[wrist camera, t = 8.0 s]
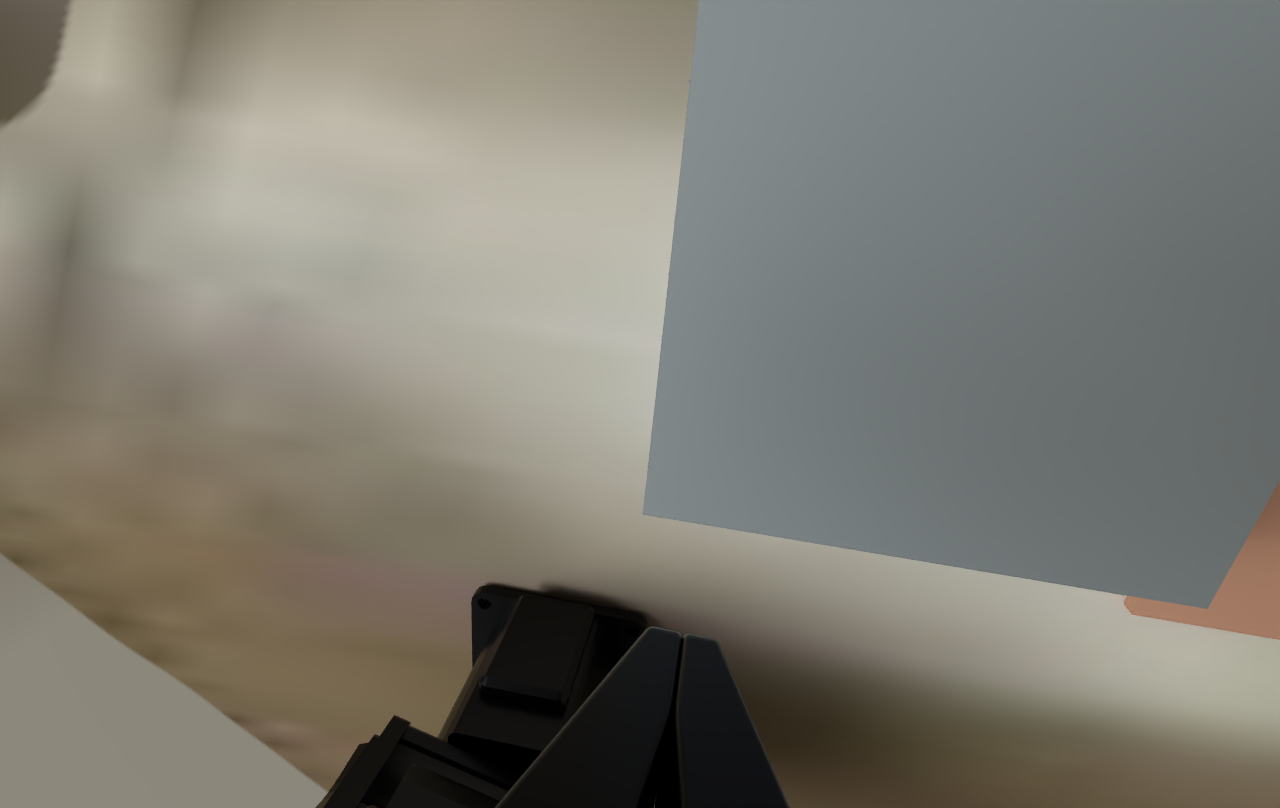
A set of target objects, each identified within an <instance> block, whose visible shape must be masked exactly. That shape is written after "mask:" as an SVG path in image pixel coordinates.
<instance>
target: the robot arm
mask: <svg viewBox="0 0 1280 808" xmlns="http://www.w3.org/2000/svg"><path fill="white" fill-rule="evenodd" d="M483 598H485V599H488V600H489V601H490V602H487V601H485V600H484V599H483ZM471 607H472V663H473V669H472V671H471V673H470V675H469V677H468V679H467V681H466V682H465V684H464V686H463V688H462V690H461V692H460V694H459V696H458V698H457V700H456V702H455V704H454V706H453V708H452V710H451V712H450V714H449V716H448V718H447V720H446V722H445V724H444V726H443V728H442V730H441V732H440V734H439V735H438V737H435V736H432V735H430V734H428V733H426V732H423V731H421V730H419V729H416V728H414V727H412V726H410V723H411V722H409V721H407V720H404V719H402V718H400V717H398V716H395V715H394V716H393V718H392V719H391V721H390V722H389V724H388V725H387V726H386V728H385V729H384V731H383V732H382V734H381V735H380V736H378V735H376V734H375V735H374V736H373V737H372V739H371V740H370V742H369V743H364V744H359V746H358V747H357V749H356V750H355V752H354V754H353V755H352V757H351V758H350V760H349V762H348V763H347V765H346V766H345V768H344V770H343V771H342V773H341V774H340V776H339V777H338V779H337V780H336V782H335V784H334V785H333V786H332V788H331V789H330V791H329V792H328V794H327V795H326V796H325V797H324V799H323V800H322V801H321V802H320V803H319V805H317V807H316V808H790V807H789V805H788V802H787V800H786V798H785V795H784V793H783V791H782V788H781V786H780V784H779V781H778V779H777V777H776V774H775V772H774V770H773V768H772V765H771V763H770V761H769V758H768V756H767V754H766V751H765V749H764V747H763V744H762V742H761V740H760V737H759V735H758V733H757V731H756V728H755V726H754V724H753V721H752V719H751V717H750V714H749V712H748V710H747V707H746V705H745V703H744V700H743V698H742V696H741V694H740V691H739V689H738V687H737V684H736V682H735V680H734V677H733V675H732V673H731V670H730V668H729V666H728V663H727V661H726V659H725V657H724V654H723V652H722V650H721V647H720V645H719V643H718V642H717V641H716V640H715V639H713V638H708V637H703V636H698V635H693V634H685V635H684V636H683V638H682V636H681V634H680V633H679V632H677V631H673V630H668V629H663V628H658V627H649V628H648V624H647V621H646V619H645V618H644V617H643V616H641V615H640V614H637V613H633V612H627V611H622V610H617V609H611V608H606V607H600V606H595V605H589V604H584V603H579V602H573V601H568V600H562V599H557V598H551V597H546V596H540V595H535V594H530V593H524V592H519V591H513V590H508V589H502V588H497V587H492V586H482V587H479V588H478V589H477V590H476V592H475V594H474V595H473V597H472V601H471ZM629 626H635V627H637V628H638V629H632V628H630V627H629ZM655 799H656V800H655ZM654 804H655V807H654Z"/></svg>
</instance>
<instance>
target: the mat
mask: <svg viewBox="0 0 1280 808" xmlns="http://www.w3.org/2000/svg"><path fill="white" fill-rule="evenodd" d="M1124 605H1125V606H1126V607H1127V609H1128V610H1129V611H1130V613H1131V614H1132V615H1138V616H1144V617H1150V618H1156V619H1162V620H1168V621H1173V622H1179V623H1185V624H1191V625H1197V626H1203V627H1209V628H1215V629H1220V630H1226V631H1232V632H1238V633H1244V634H1250V635H1256V636H1262V637H1267V638H1273V639H1279V640H1280V481H1279V483H1278V484H1277V486H1276V488H1275V490H1274V492H1273V493H1272V495H1271V497H1270V499H1269V500H1268V502H1267V504H1266V506H1265V508H1264V509H1263V511H1262V513H1261V515H1260V516H1259V518H1258V520H1257V522H1256V524H1255V525H1254V527H1253V529H1252V531H1251V532H1250V534H1249V536H1248V538H1247V540H1246V541H1245V543H1244V545H1243V547H1242V548H1241V550H1240V552H1239V554H1238V556H1237V557H1236V559H1235V561H1234V563H1233V565H1232V566H1231V568H1230V570H1229V572H1228V573H1227V575H1226V577H1225V579H1224V581H1223V582H1222V584H1221V586H1220V588H1219V589H1218V591H1217V593H1216V595H1215V597H1214V598H1213V600H1212V602H1211V604H1210V605H1209V607H1208V609H1205V608H1199V607H1193V606H1187V605H1181V604H1175V603H1169V602H1163V601H1157V600H1151V599H1145V598H1139V597H1133V596H1127V598H1126V600H1125V602H1124Z"/></svg>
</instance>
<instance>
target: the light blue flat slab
mask: <svg viewBox="0 0 1280 808" xmlns="http://www.w3.org/2000/svg"><path fill="white" fill-rule="evenodd" d="M1279 481H1280V0H699V5H698V14H697V23H696V32H695V41H694V50H693V60H692V69H691V78H690V87H689V96H688V105H687V115H686V124H685V133H684V142H683V151H682V160H681V170H680V179H679V188H678V197H677V206H676V215H675V225H674V234H673V243H672V252H671V261H670V270H669V280H668V289H667V298H666V307H665V316H664V325H663V335H662V344H661V353H660V362H659V371H658V380H657V390H656V399H655V408H654V417H653V426H652V435H651V445H650V454H649V463H648V472H647V481H646V490H645V500H644V509H643V514H644V515H650V516H656V517H662V518H667V519H673V520H679V521H685V522H691V523H697V524H703V525H709V526H715V527H721V528H727V529H733V530H739V531H745V532H751V533H757V534H763V535H769V536H775V537H781V538H787V539H793V540H799V541H805V542H811V543H817V544H823V545H829V546H835V547H841V548H847V549H852V550H858V551H864V552H870V553H876V554H882V555H888V556H894V557H900V558H906V559H912V560H918V561H924V562H930V563H936V564H942V565H948V566H954V567H960V568H966V569H972V570H978V571H984V572H990V573H996V574H1002V575H1008V576H1014V577H1020V578H1026V579H1032V580H1038V581H1043V582H1049V583H1055V584H1061V585H1067V586H1073V587H1079V588H1085V589H1091V590H1097V591H1103V592H1109V593H1115V594H1121V595H1127V596H1133V597H1139V598H1145V599H1151V600H1157V601H1163V602H1169V603H1175V604H1181V605H1187V606H1193V607H1199V608H1205V609H1208V607H1209V605H1210V604H1211V602H1212V600H1213V598H1214V597H1215V595H1216V593H1217V591H1218V589H1219V588H1220V586H1221V584H1222V582H1223V581H1224V579H1225V577H1226V575H1227V573H1228V572H1229V570H1230V568H1231V566H1232V565H1233V563H1234V561H1235V559H1236V557H1237V556H1238V554H1239V552H1240V550H1241V548H1242V547H1243V545H1244V543H1245V541H1246V540H1247V538H1248V536H1249V534H1250V532H1251V531H1252V529H1253V527H1254V525H1255V524H1256V522H1257V520H1258V518H1259V516H1260V515H1261V513H1262V511H1263V509H1264V508H1265V506H1266V504H1267V502H1268V500H1269V499H1270V497H1271V495H1272V493H1273V492H1274V490H1275V488H1276V486H1277V484H1278V483H1279Z"/></svg>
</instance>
